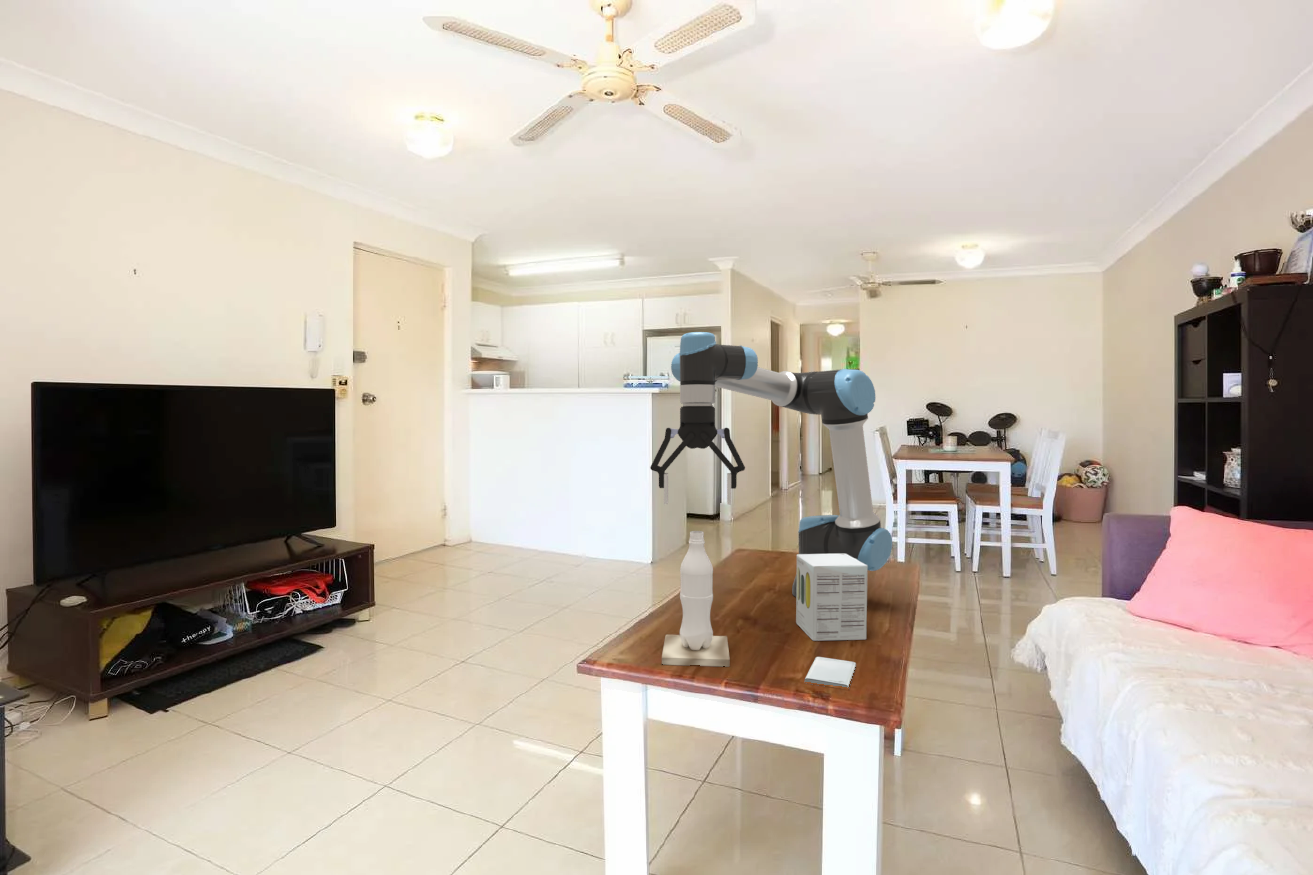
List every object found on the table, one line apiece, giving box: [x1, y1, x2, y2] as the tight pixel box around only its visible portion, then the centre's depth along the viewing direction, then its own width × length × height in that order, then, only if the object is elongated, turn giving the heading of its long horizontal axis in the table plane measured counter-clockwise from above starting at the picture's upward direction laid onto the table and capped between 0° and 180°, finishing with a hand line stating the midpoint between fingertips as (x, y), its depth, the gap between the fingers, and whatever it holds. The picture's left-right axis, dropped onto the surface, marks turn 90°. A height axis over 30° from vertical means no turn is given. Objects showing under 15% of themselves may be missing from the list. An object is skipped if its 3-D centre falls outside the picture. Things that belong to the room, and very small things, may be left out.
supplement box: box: [795, 553, 868, 642], centre depth 153 cm, size 13×13×18 cm
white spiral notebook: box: [804, 656, 857, 688], centre depth 127 cm, size 2×8×12 cm
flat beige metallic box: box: [661, 634, 731, 668], centre depth 139 cm, size 14×14×2 cm
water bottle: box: [679, 530, 714, 650], centre depth 138 cm, size 7×7×25 cm
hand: (697, 503), depth 138 cm, fingers open, 13 cm apart
